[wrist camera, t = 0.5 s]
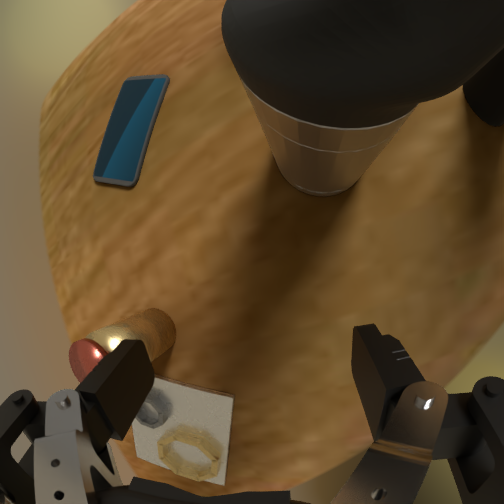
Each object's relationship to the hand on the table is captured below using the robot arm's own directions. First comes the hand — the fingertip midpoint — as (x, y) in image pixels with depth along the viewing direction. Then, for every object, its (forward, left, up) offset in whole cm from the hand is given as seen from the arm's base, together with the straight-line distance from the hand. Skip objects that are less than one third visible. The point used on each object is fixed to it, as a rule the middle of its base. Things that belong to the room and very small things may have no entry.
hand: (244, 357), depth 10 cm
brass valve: (+7, -14, -18) cm, 24 cm away
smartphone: (-17, -21, -19) cm, 33 cm away
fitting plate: (+22, -11, -18) cm, 31 cm away
